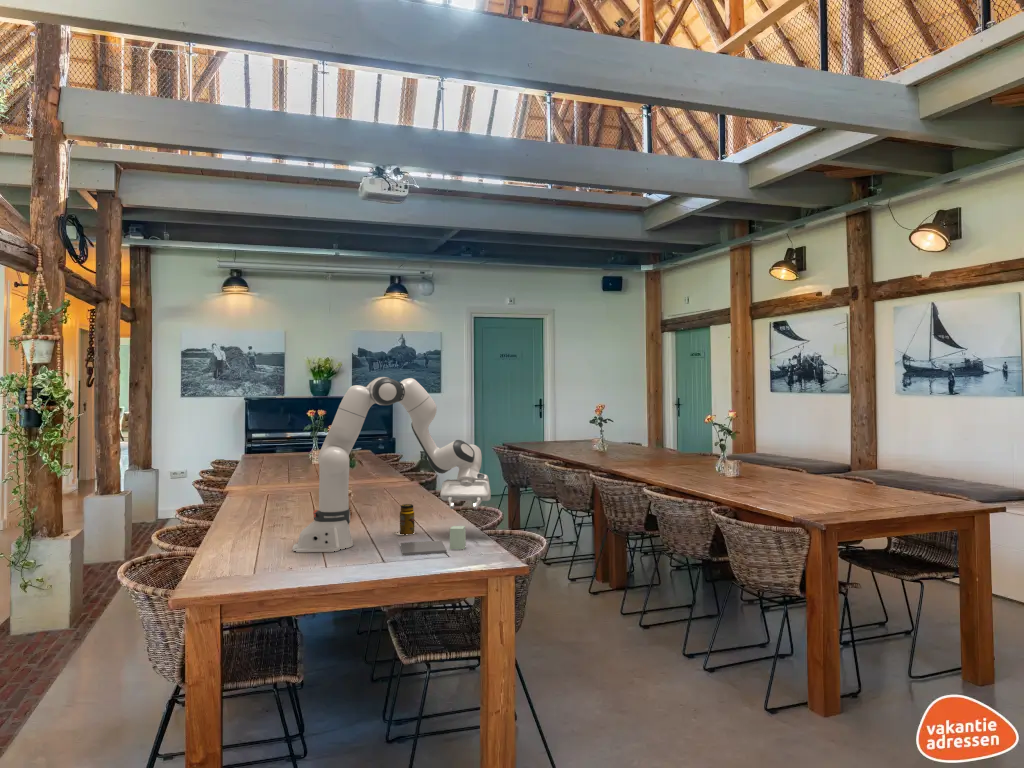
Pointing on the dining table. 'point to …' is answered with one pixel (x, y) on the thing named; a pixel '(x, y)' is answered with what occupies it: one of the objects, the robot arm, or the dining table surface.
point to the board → (423, 547)
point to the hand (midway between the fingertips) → (463, 508)
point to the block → (457, 537)
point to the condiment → (406, 519)
